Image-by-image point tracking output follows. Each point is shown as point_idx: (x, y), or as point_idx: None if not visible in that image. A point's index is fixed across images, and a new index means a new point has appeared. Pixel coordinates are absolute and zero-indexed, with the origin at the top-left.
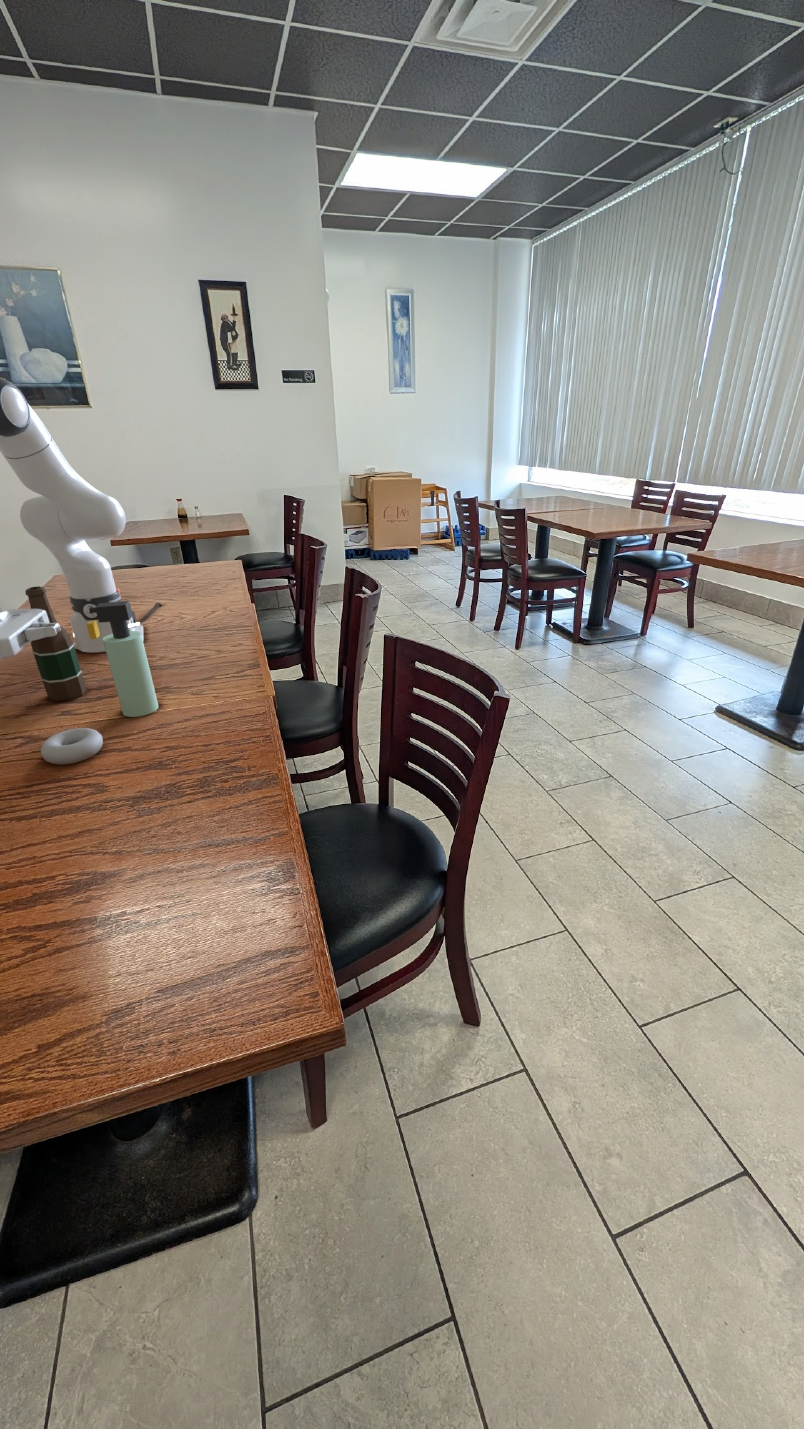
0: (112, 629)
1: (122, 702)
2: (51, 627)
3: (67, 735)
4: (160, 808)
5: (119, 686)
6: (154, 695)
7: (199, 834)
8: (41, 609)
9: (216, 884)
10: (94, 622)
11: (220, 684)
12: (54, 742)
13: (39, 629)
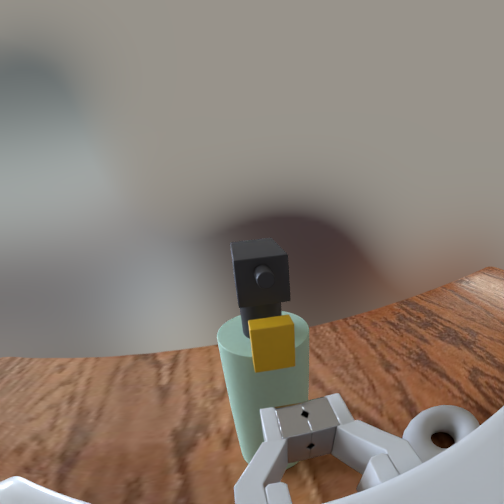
0: (276, 313)
1: None
2: (340, 396)
3: (438, 447)
4: (464, 329)
5: None
6: None
7: (467, 306)
8: (3, 483)
9: (482, 291)
10: (269, 318)
11: (194, 376)
12: None
13: (374, 430)
